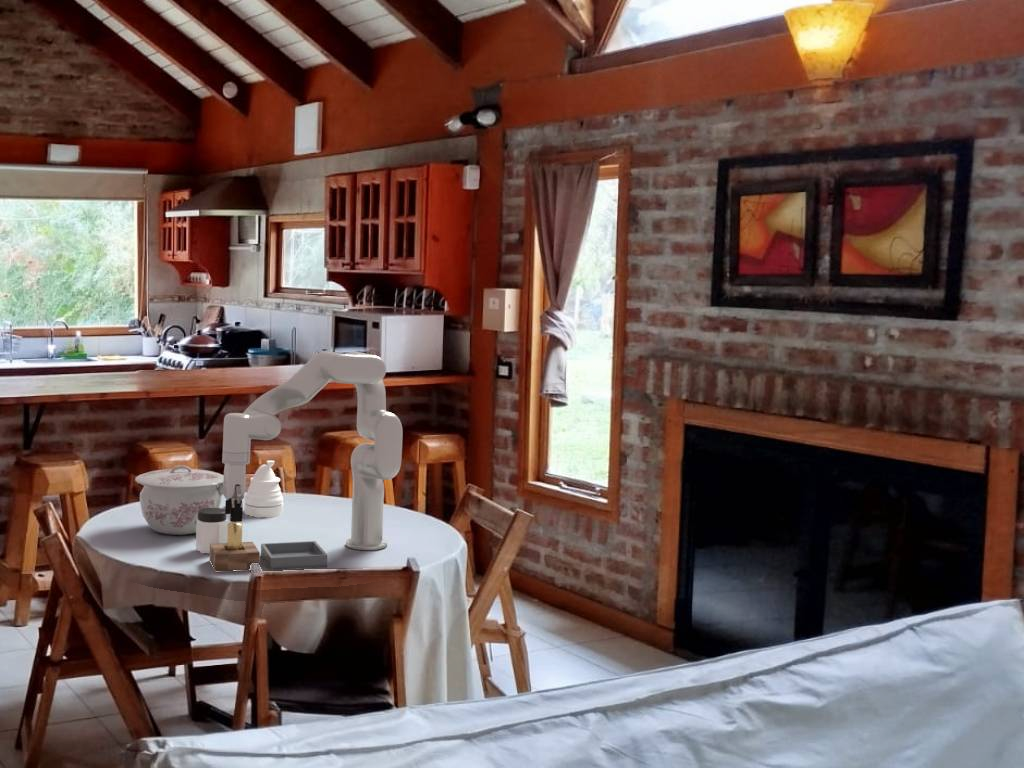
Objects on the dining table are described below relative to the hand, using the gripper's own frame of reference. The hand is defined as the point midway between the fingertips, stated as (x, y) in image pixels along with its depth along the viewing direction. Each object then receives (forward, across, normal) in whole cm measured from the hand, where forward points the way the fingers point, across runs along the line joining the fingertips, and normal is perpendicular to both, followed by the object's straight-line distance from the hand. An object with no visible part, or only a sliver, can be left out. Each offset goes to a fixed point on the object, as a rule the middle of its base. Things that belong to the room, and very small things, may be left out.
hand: (233, 517), depth 324 cm
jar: (+14, -17, -3) cm, 22 cm away
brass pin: (+14, 0, +1) cm, 14 cm away
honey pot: (+13, -62, +20) cm, 67 cm away
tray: (+13, -1, +18) cm, 22 cm away
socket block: (+14, 0, +1) cm, 14 cm away
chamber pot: (+14, -43, -9) cm, 46 cm away
